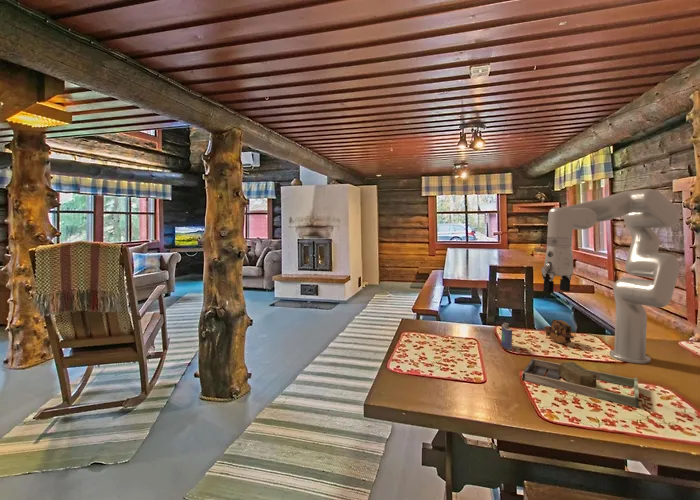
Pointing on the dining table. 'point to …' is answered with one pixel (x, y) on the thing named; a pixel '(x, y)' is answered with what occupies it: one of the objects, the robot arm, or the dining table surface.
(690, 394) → the dining table surface
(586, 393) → the box
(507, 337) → the flask
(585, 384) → the stone block
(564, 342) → the wooden carving
